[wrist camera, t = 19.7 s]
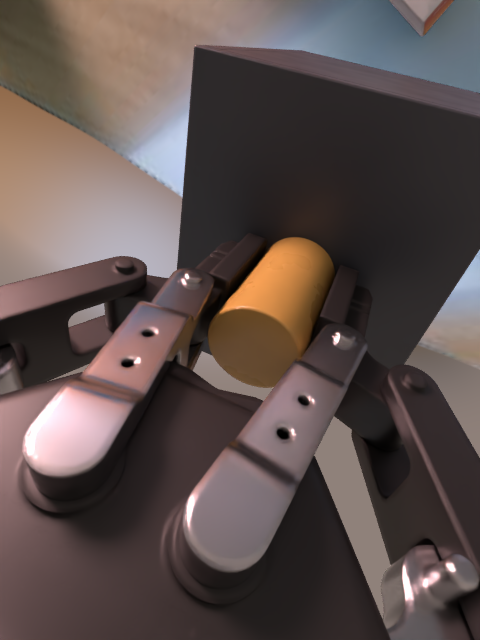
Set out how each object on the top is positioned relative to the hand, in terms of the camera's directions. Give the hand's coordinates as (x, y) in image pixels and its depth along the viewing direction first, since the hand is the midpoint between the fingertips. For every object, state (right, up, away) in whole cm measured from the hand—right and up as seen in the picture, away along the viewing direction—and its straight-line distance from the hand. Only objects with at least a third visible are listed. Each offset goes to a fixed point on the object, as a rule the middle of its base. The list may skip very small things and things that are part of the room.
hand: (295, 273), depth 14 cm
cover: (+5, +7, +10) cm, 13 cm away
